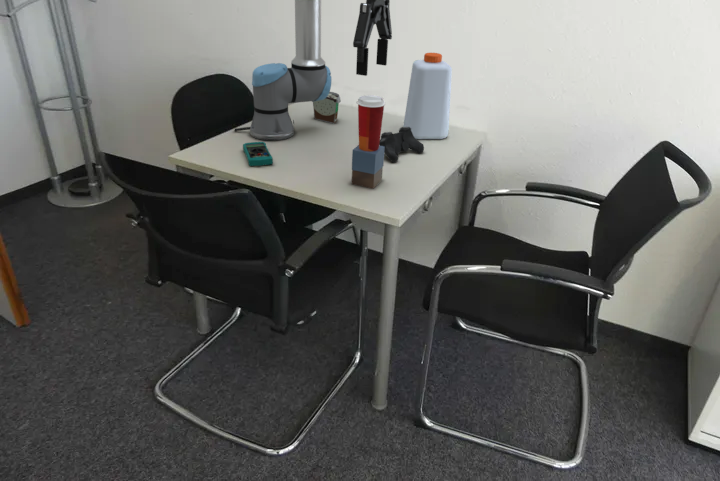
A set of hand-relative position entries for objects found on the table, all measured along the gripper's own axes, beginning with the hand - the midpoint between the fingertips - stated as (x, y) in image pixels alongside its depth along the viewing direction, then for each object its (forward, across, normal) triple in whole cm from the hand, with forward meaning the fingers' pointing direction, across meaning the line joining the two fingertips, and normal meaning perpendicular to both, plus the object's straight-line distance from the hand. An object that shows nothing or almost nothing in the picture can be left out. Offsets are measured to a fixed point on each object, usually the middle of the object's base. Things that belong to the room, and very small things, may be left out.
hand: (371, 69), depth 137 cm
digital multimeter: (+32, +1, +38) cm, 50 cm away
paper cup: (+22, 0, 0) cm, 22 cm away
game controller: (+32, +26, -1) cm, 41 cm away
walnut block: (+32, 0, 0) cm, 32 cm away
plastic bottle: (+32, +51, -2) cm, 60 cm away
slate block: (+27, 0, 0) cm, 27 cm away
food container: (+33, +48, +36) cm, 68 cm away
